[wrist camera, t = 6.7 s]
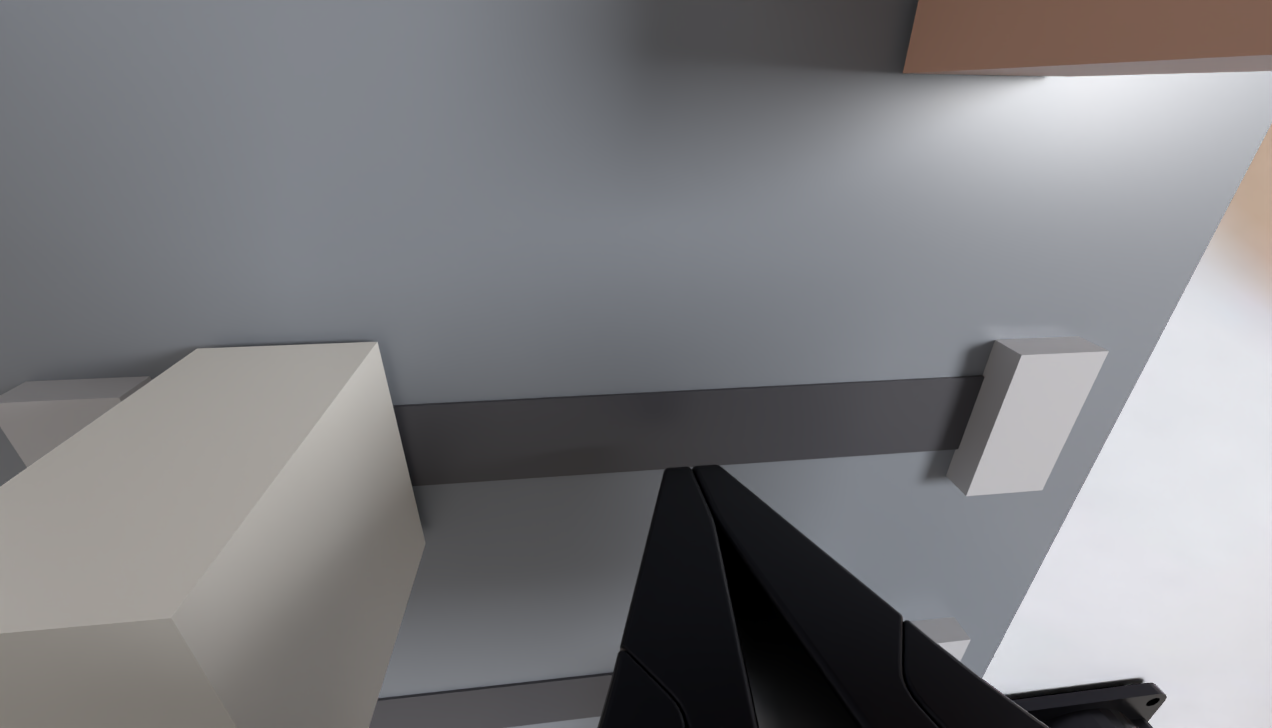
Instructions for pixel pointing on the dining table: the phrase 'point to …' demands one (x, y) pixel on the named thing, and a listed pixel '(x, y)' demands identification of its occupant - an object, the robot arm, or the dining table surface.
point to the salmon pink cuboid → (1090, 37)
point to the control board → (615, 282)
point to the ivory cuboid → (213, 550)
